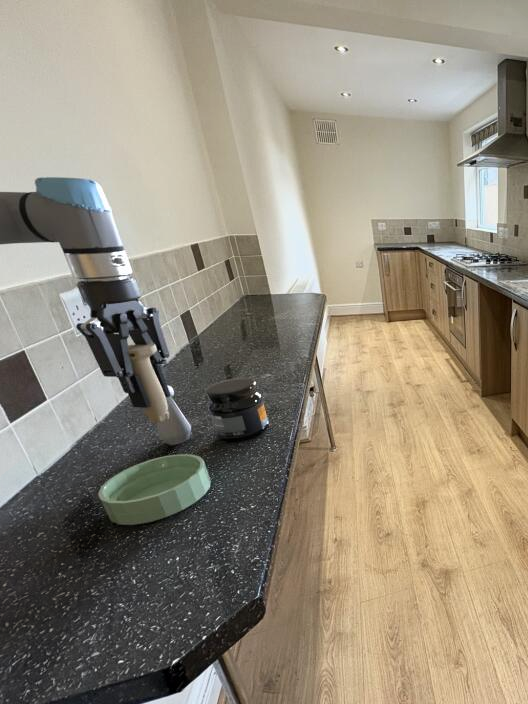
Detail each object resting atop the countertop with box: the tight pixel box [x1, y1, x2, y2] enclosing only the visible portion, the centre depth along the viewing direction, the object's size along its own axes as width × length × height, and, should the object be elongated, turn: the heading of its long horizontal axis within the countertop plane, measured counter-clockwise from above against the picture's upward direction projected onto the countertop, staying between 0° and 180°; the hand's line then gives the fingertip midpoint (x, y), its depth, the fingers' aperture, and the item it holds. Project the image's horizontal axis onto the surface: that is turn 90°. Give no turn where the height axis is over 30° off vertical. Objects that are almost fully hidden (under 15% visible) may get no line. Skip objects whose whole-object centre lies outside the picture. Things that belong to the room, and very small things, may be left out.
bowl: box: [97, 453, 212, 526], centre depth 72 cm, size 14×14×5 cm
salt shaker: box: [156, 384, 192, 446], centre depth 90 cm, size 6×6×13 cm
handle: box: [128, 343, 170, 424], centre depth 78 cm, size 5×6×15 cm
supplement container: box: [204, 377, 270, 444], centre depth 93 cm, size 10×10×12 cm
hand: (152, 401), depth 79 cm, fingers closed on handle, 4 cm apart
